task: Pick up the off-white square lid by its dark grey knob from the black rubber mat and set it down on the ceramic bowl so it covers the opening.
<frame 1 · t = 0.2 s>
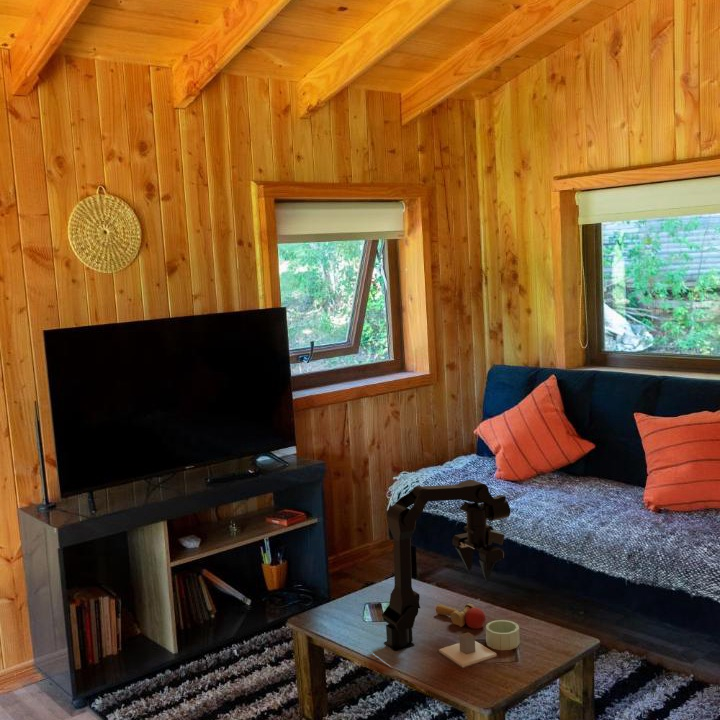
hand: (478, 575, 265), 14 cm above the table, tool pointing down, fingers open, 9 cm apart
bowl: (502, 644, 251), on the table
lid: (467, 654, 246), resting on mat
mat: (467, 655, 246), on the table
kendama: (460, 623, 268), on the table
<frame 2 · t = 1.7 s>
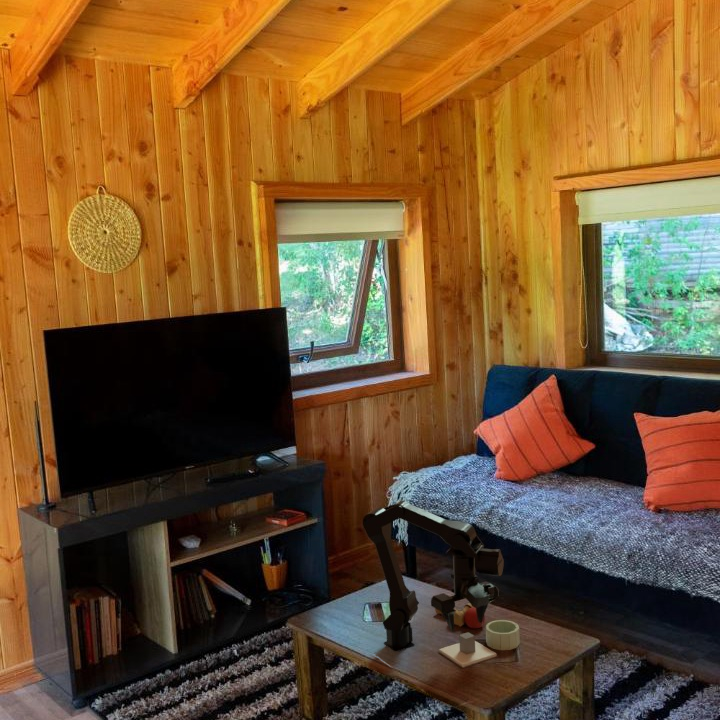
hand: (466, 626, 245), 8 cm above the table, tool pointing down, fingers open, 9 cm apart
nothing on the table moved.
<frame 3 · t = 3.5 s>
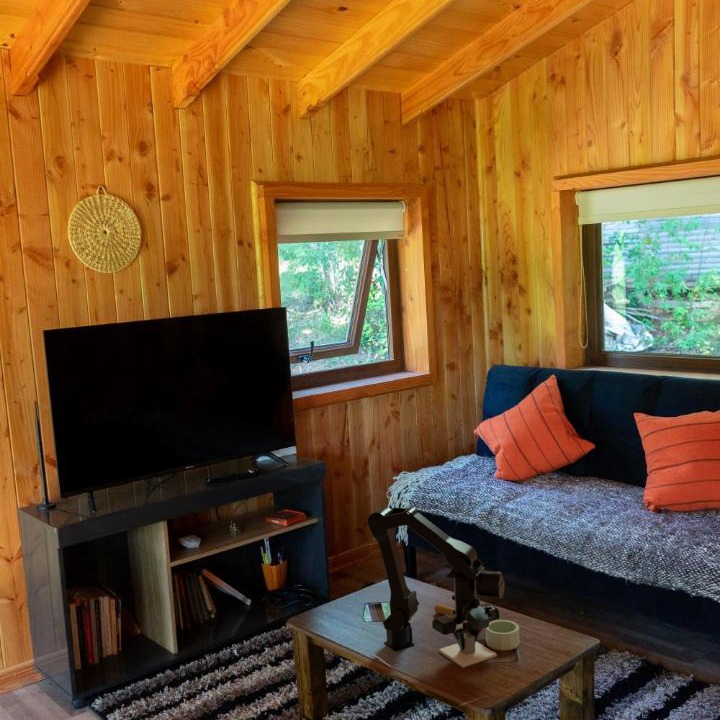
hand: (467, 648, 245), 2 cm above the table, tool pointing down, fingers closed on lid, 3 cm apart
lid: (467, 654, 246), resting on mat, touching gripper
everything else where it was.
when the fingers open (8 cm above the table, at t = 6.4 s): lid drops 1 cm, resting on bowl.
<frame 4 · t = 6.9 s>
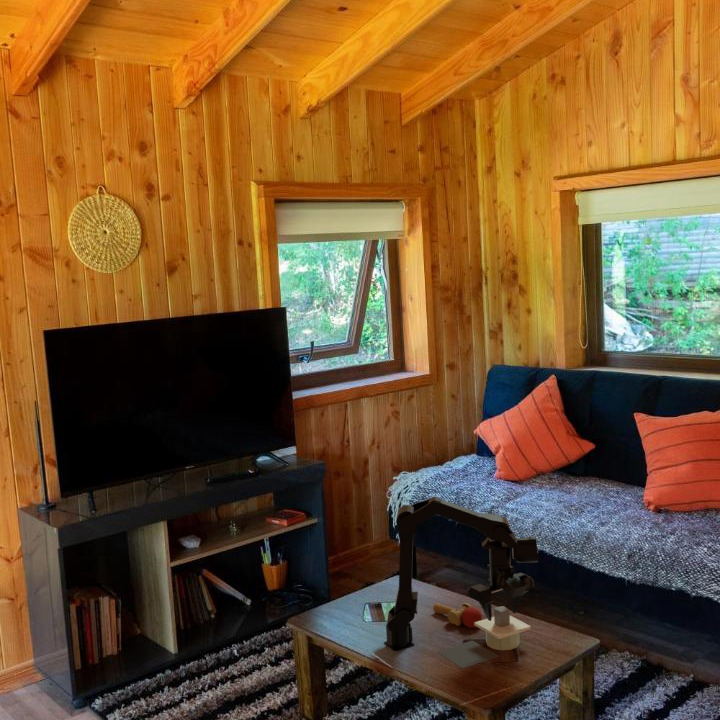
hand: (501, 616, 250), 8 cm above the table, tool pointing down, fingers open, 8 cm apart
lid: (502, 627, 251), point 5 cm above the table, touching bowl
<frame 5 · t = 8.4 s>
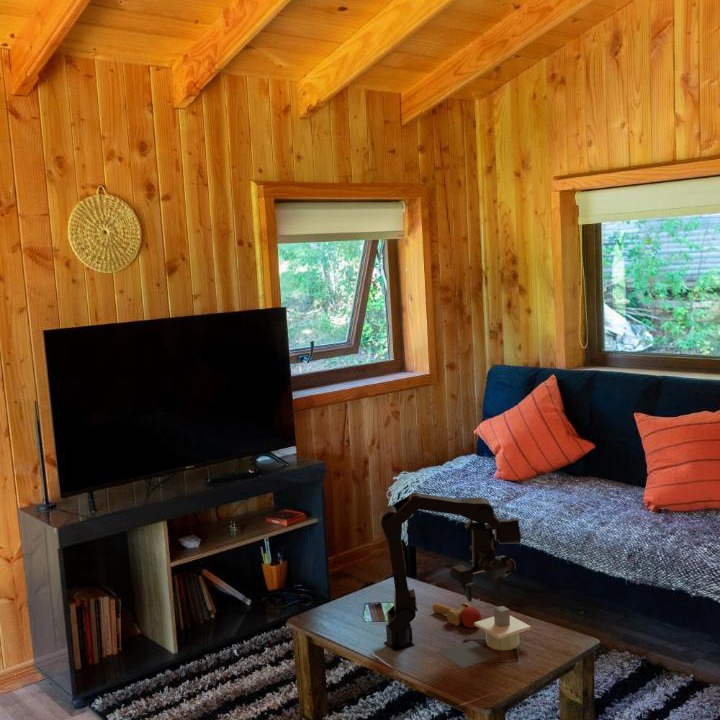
hand: (483, 598, 252), 13 cm above the table, tool pointing down, fingers open, 9 cm apart
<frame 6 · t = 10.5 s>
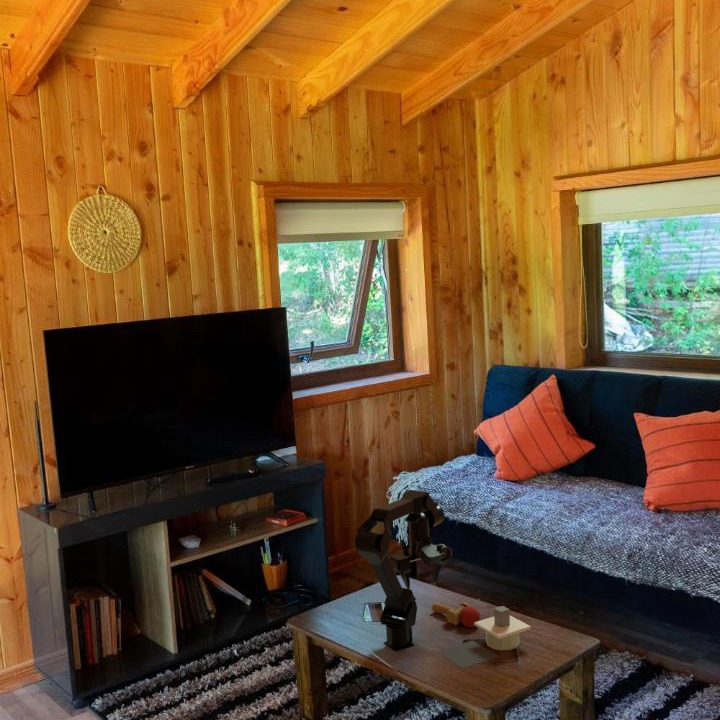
hand: (421, 584, 263), 13 cm above the table, tool pointing down, fingers open, 9 cm apart
at the end: lid 0.1 cm off-centre on the bowl, point 5.0 cm above the bowl's base; lid tilted 0°; the gripper is holding nothing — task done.
